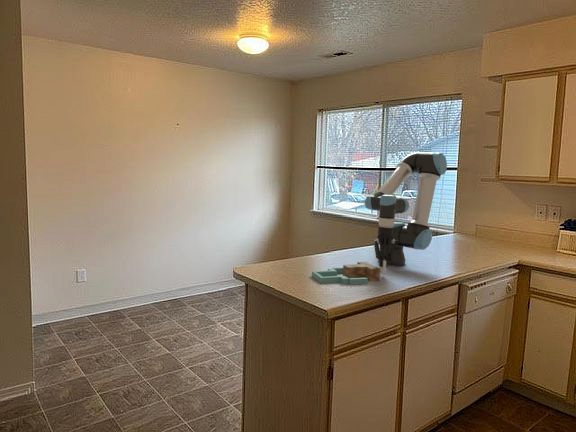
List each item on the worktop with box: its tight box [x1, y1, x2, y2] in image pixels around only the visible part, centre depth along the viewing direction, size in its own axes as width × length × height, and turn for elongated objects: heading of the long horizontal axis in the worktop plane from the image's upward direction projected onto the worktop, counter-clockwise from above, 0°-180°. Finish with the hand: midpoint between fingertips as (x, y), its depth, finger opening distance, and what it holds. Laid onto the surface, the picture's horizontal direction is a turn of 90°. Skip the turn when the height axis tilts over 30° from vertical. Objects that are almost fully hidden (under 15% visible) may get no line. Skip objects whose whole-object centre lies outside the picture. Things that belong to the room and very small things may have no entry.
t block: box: [342, 261, 381, 282], centre depth 210 cm, size 15×14×6 cm
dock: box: [311, 266, 369, 285], centre depth 207 cm, size 22×21×2 cm
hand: (382, 273), depth 214 cm, fingers closed
